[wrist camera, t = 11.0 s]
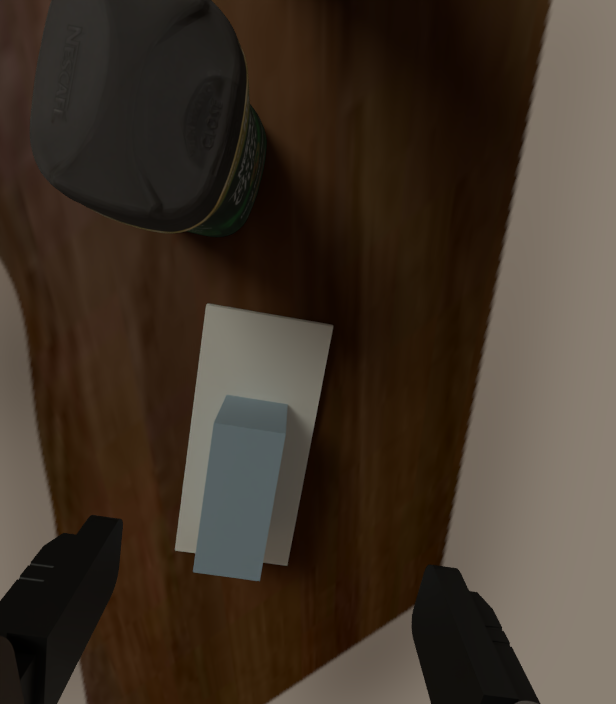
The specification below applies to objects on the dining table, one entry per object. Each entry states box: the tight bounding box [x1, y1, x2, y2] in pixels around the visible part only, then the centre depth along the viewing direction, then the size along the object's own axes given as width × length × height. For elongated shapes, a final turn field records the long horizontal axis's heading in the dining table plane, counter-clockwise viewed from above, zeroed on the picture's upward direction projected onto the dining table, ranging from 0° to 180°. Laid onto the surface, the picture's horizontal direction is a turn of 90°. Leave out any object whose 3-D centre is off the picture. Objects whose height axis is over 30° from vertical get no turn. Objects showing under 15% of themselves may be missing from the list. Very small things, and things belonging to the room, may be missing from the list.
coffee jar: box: [30, 0, 267, 237], centre depth 26 cm, size 10×8×19 cm
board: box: [175, 303, 333, 566], centre depth 38 cm, size 22×10×3 cm, turn 170°
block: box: [193, 395, 288, 581], centre depth 36 cm, size 12×5×6 cm, turn 170°
